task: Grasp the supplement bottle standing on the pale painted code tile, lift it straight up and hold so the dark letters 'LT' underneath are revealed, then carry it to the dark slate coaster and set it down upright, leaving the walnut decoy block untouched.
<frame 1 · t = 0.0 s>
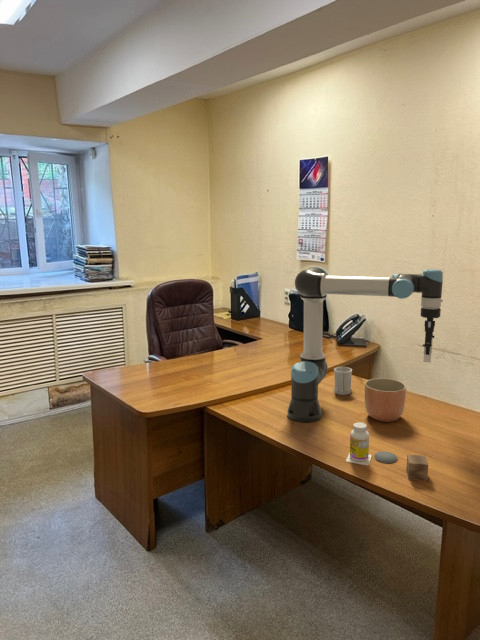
hand: (427, 357, 195), 28 cm above the table, fingers open, 13 cm apart
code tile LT: (358, 458, 170), on the table
cup: (342, 391, 236), on the table
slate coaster: (385, 457, 170), on the table
walnut decoy block: (416, 475, 158), on the table
planter: (383, 417, 204), on the table
supplement bottle: (358, 458, 170), resting on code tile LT
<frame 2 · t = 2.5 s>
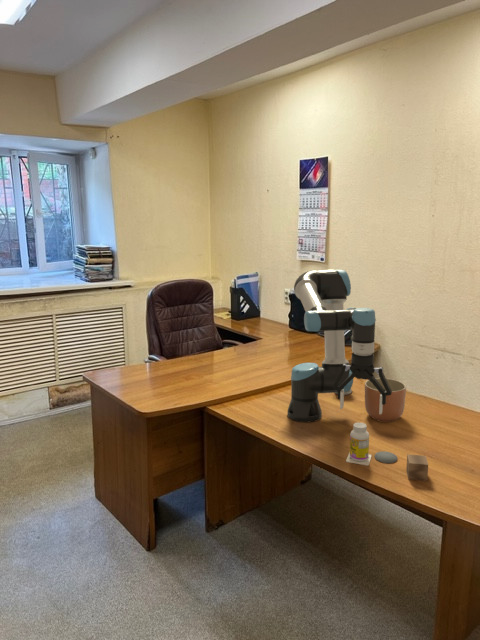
hand: (360, 410, 166), 19 cm above the table, fingers open, 13 cm apart
nothing on the table moved.
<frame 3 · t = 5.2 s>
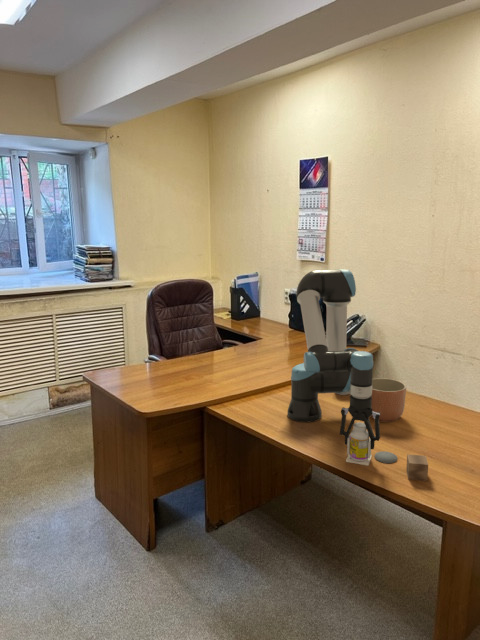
hand: (359, 454, 170), 1 cm above the table, fingers closed on supplement bottle, 7 cm apart
supplement bottle: (358, 458, 170), resting on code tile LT, touching gripper
everything else where it was.
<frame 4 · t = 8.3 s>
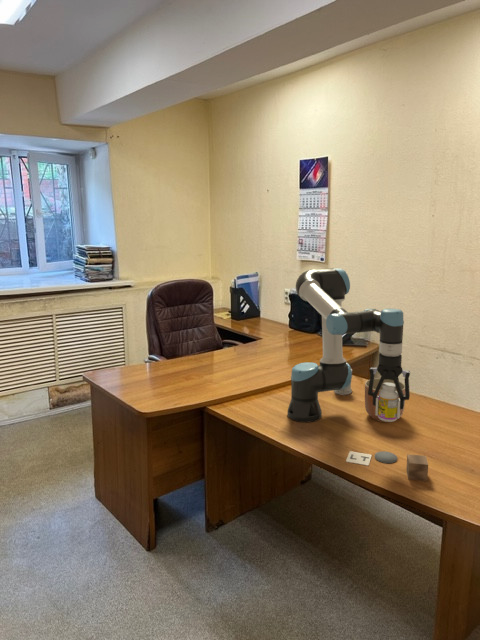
hand: (387, 415, 167), 17 cm above the table, fingers closed on supplement bottle, 7 cm apart
supplement bottle: (387, 419, 167), point 15 cm above the table, touching gripper
everything else where it was.
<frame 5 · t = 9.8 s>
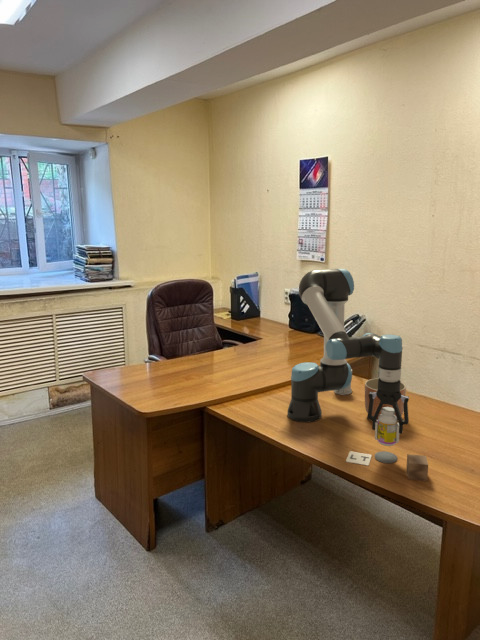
hand: (386, 439, 168), 7 cm above the table, fingers closed on supplement bottle, 7 cm apart
supplement bottle: (386, 443, 169), point 6 cm above the table, touching gripper
everything else where it was.
when the fingers open (3 cm above the table, at t = 11.4 s): supplement bottle drops 2 cm, resting on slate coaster.
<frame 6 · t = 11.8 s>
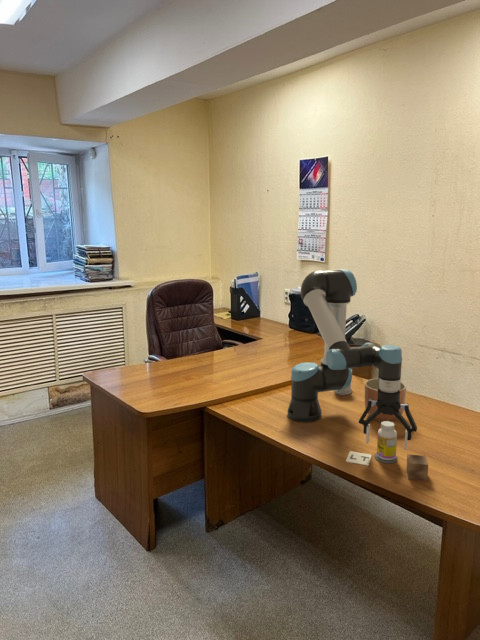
hand: (386, 444, 169), 5 cm above the table, fingers open, 13 cm apart
supplement bottle: (386, 457, 170), resting on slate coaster
everything else where it was.
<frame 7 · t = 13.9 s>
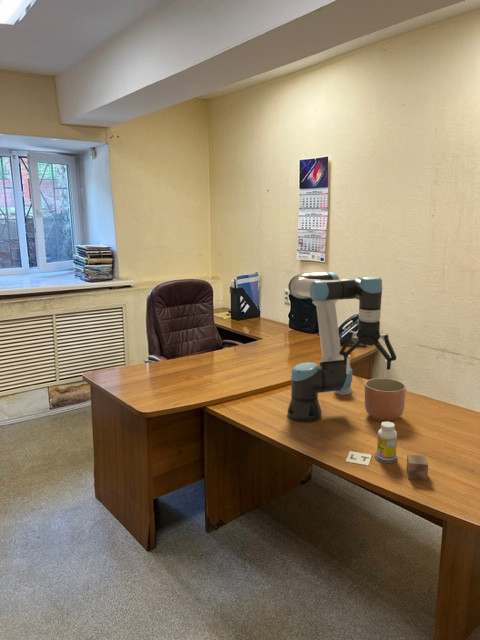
hand: (366, 375, 173), 29 cm above the table, fingers open, 13 cm apart
nothing on the table moved.
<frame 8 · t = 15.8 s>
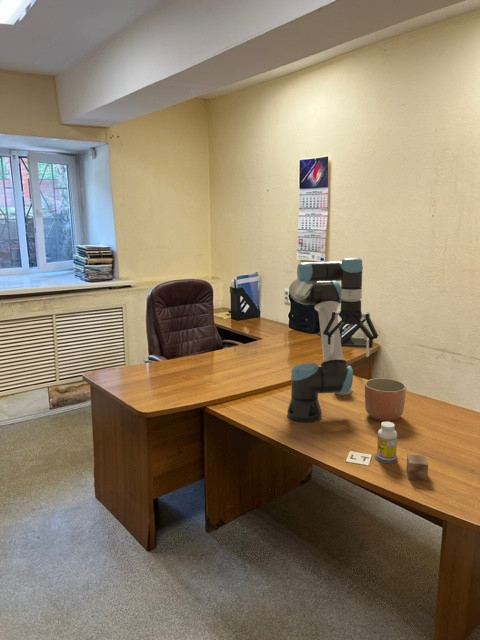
hand: (349, 354, 179), 35 cm above the table, fingers open, 13 cm apart
nothing on the table moved.
at the end: supplement bottle 0.2 cm from the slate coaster (horizontally); supplement bottle tilted 0°; the gripper is holding nothing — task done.
